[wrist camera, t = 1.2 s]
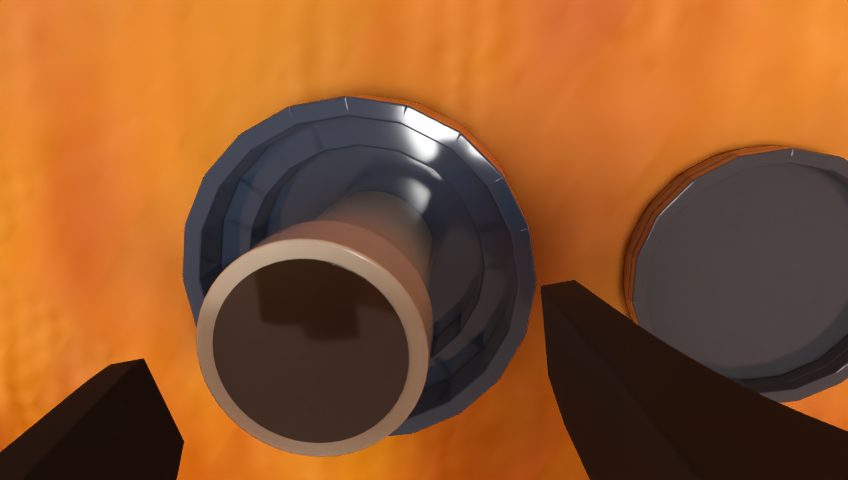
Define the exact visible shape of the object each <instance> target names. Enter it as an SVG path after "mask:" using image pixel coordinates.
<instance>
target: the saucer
mask: <svg viewBox="0 0 848 480" xmlns="http://www.w3.org/2000/svg"><path fill="white" fill-rule="evenodd" d="M624 293H625V299H626V304H627V307H628V310H629V313H630V317H631V319H632V321H633V322H634V323H636V324H637V325H639V326H640V327H642V328H643V329H645V330H646V331H648V332H650V333H651V334H653V335H654V336H656V337H657V338H659V339H660V340H662V341H664V342H665V343H667V344H668V345H670V346H672V347H673V348H675V349H677V350H678V351H680V352H682V353H683V354H685V355H687V356H689V357H690V358H692V359H694V360H696V361H697V362H699V363H701V364H703V365H704V366H706V367H708V368H709V369H711V370H713V371H715V372H717V373H719V374H721V375H723V376H724V377H726V378H728V379H730V380H732V381H734V382H736V383H738V384H740V385H742V386H744V387H747V388H749V389H751V390H753V391H755V392H757V393H759V394H761V395H763V396H765V397H767V398H769V399H771V400H773V401H776V402H778V403H782V402H791V401H798V400H801V399H804V398H806V397H808V396H811V395H813V394H816V393H818V392H820V391H823V390H825V389H828V388H830V387H832V386H835V385H837V384H840V383H842V381H845V380H846V379H847V378H848V161H847V160H846V159H844V158H841V157H839V156H834V155H829V154H823V153H818V152H812V151H807V150H802V149H796V148H791V147H785V146H780V145H778V146H776V145H774V146H760V147H749V148H743V149H739V150H734V151H729V152H726V153H723V154H721V155H718V156H715V157H712V158H710V159H708V160H706V161H704V162H702V163H699V164H697V165H695V166H694V167H692V168H691V169H689V170H688V171H686V172H684V173H683V174H681V175H680V176H679V177H677V178H676V179H675V180H674V181H672V182H671V183H670V184H669V185H668V186H666V187H665V188H664V189H663V191H662V192H661V193H660V194H659V195H658V196H657V197H656V198H655V199H654V200H653V201H652V203H651V204H650V205H649V207H648V208H647V209H646V211H645V212H644V214H643V215H642V217H641V219H640V221H639V222H638V224H637V226H636V228H635V230H634V233H633V235H632V238H631V240H630V243H629V246H628V250H627V254H626V258H625V265H624Z"/></svg>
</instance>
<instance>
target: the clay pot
mask: <svg viewBox="0 0 848 480" xmlns="http://www.w3.org/2000/svg"><path fill="white" fill-rule="evenodd" d="M434 258H435V250H434V242H433V238H432V235H431V232H430V229H429V227H428V225H427V224H426V222H425V220H424V219H423V217H422V216H421V215H420V214H419V213H418V211H417V210H416V209H415V208H414V207H412V206H411V205H410V204H409V203H407V202H406V201H404V200H402V199H401V198H399V197H396V196H394V195H391V194H388V193H385V192H379V191H360V192H356V193H352V194H349V195H346V196H344V197H342V198H340V199H338V200H337V201H335V202H334V203H333V204H331V205H330V206H329V207H328V208H326V209H325V210H324V211H323V212H321V213H320V214H319V215H318V216H316V217H315V218H314V219H313V220H312V221H310V222H304V223H299V224H295V225H292V226H289V227H286V228H284V229H281V230H279V231H277V232H275V233H273V234H272V235H270V236H268V237H267V238H265V239H264V240H262V241H261V242H260V243H258V244H257V245H256V246H254V247H253V248H251V249H250V250H249V251H247V252H246V253H244V254H243V255H242V256H240V257H239V258H238V259H236V260H235V261H233V262H232V263H231V264H230V265H229V266H228V267H227V268H226V269H225V270H224V271H223V272H222V273H221V274H220V275H219V276H218V277H217V279H216V280H215V281H214V283H213V284H212V285H211V287H210V289H209V291H208V293H207V295H206V297H205V299H204V301H203V304H202V307H201V310H200V314H199V318H198V323H197V335H196V344H197V355H198V360H199V364H200V368H201V371H202V374H203V377H204V380H205V382H206V384H207V386H208V388H209V390H210V392H211V394H212V396H213V397H214V399H215V400H216V402H217V403H218V405H219V406H220V407H221V408H222V410H223V411H224V412H225V413H226V414H227V415H228V417H229V418H231V419H232V420H233V421H234V422H235V423H236V424H237V425H238V426H239V427H240V428H242V429H243V430H244V431H246V432H247V433H248V434H250V435H251V436H253V437H255V438H256V439H258V440H260V441H262V442H263V443H265V444H268V445H270V446H272V447H275V448H277V449H280V450H283V451H286V452H289V453H294V454H299V455H304V456H316V457H327V456H338V455H344V454H350V453H353V452H356V451H360V450H363V449H365V448H367V447H369V446H372V445H374V444H376V443H377V442H379V441H381V440H382V439H384V438H386V437H387V436H388V435H390V434H391V433H392V432H393V431H395V430H396V429H397V428H398V427H399V426H400V425H401V424H402V423H403V422H404V421H405V420H406V419H407V417H408V416H409V415H410V413H411V412H412V410H413V409H414V407H415V406H416V404H417V402H418V400H419V398H420V396H421V394H422V391H423V388H424V385H425V382H426V377H427V371H428V365H429V359H430V352H431V346H432V340H433V326H434V321H433V312H432V306H431V302H430V298H429V295H428V289H429V284H430V279H431V275H432V270H433V265H434Z"/></svg>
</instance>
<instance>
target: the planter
mask: <svg viewBox="0 0 848 480" xmlns="http://www.w3.org/2000/svg"><path fill="white" fill-rule="evenodd" d="M360 191H379V192H385V193H388V194H391V195H394V196H396V197H399V198H401V199H402V200H404V201H406V202H407V203H409V204H410V205H411V206H412V207H414V208H415V209H416V210H417V211H418V213H419V214H420V215H421V216H422V217H423V219H424V220H425V222H426V224H427V225H428V227H429V229H430V232H431V235H432V238H433V242H434V250H435V258H434V265H433V270H432V275H431V279H430V284H429V289H428V295H429V298H430V302H431V306H432V312H433V321H434V326H433V340H432V346H431V352H430V359H429V365H428V371H427V377H426V382H425V385H424V388H423V391H422V394H421V396H420V398H419V400H418V402H417V404H416V406H415V407H414V409H413V410H412V412H411V413H410V415H409V416H408V417H407V419H406V420H405V421H404V422H403V423H402V424H401V425H400V426H399V427H398V428H397V429H396V430H395V431H393V432H392V433H391V434H390V435H388V436H394V435H404V434H412V433H415V432H418V431H420V430H422V429H425V428H427V427H429V426H432V425H434V424H436V423H439V422H441V421H444V420H446V419H448V418H451V417H453V416H455V415H458V414H459V413H461V412H462V411H464V410H465V409H466V408H467V407H468V406H469V405H471V404H472V403H473V402H474V401H475V400H476V399H477V398H479V397H480V396H481V395H482V394H483V393H484V392H486V391H487V390H488V389H489V388H490V387H491V386H493V385H494V384H495V383H496V382H497V381H498V379H500V378H501V376H502V374H503V373H504V371H505V369H506V368H507V366H508V364H509V363H510V361H511V359H512V357H513V356H514V354H515V352H516V351H517V349H518V347H519V346H520V344H521V342H522V341H523V339H524V337H525V334H526V332H527V327H528V323H529V318H530V313H531V308H532V303H533V298H534V293H535V289H536V273H535V265H534V258H533V250H532V243H531V235H530V228H529V225H528V223H527V220H526V218H525V216H524V213H523V211H522V209H521V206H520V204H519V202H518V200H517V198H516V196H515V194H514V192H513V190H512V188H511V186H510V184H509V182H508V180H507V178H506V176H505V174H504V172H503V170H502V168H501V166H500V164H499V163H498V161H497V160H496V159H495V158H494V157H493V156H492V155H491V154H490V153H489V152H488V151H487V150H486V149H485V148H484V147H483V146H482V145H481V144H480V143H479V142H478V141H477V140H476V139H475V138H474V137H473V136H472V135H471V134H470V133H469V132H468V131H467V130H466V129H465V127H462V125H460V124H458V123H456V122H454V121H452V120H450V119H448V118H446V117H445V116H443V115H441V114H439V113H437V112H435V111H433V110H431V109H429V108H427V107H425V106H423V105H421V104H419V103H415V102H410V101H404V100H397V99H390V98H384V97H377V96H371V95H360V96H343V97H337V98H332V99H326V100H320V101H315V102H309V103H304V104H298V105H293V106H290V107H287V108H285V109H283V110H281V111H280V112H278V113H276V114H274V115H273V116H271V117H269V118H267V119H266V120H264V121H262V122H260V123H258V124H257V125H255V126H253V127H251V128H250V129H248V130H246V131H244V132H243V133H241V134H240V135H239V136H238V137H237V138H236V139H235V140H234V141H233V143H232V144H231V145H230V146H229V147H228V148H227V150H226V151H225V152H224V153H223V154H222V155H221V157H220V158H219V159H218V160H217V161H216V162H215V163H214V165H213V166H212V167H211V168H210V169H209V170H208V172H207V173H206V174H205V176H204V177H203V180H202V182H201V185H200V187H199V190H198V193H197V195H196V198H195V200H194V203H193V205H192V208H191V211H190V213H189V216H188V218H187V221H186V223H185V225H186V226H185V233H184V258H183V281H184V285H185V289H186V292H187V296H188V299H189V303H190V306H191V310H192V314H193V317H194V321H195V324H196V327H197V323H198V318H199V314H200V310H201V307H202V304H203V301H204V299H205V297H206V295H207V293H208V291H209V289H210V287H211V285H212V284H213V283H214V281H215V280H216V279H217V277H218V276H219V275H220V274H221V273H222V272H223V271H224V270H225V269H226V268H227V267H228V266H229V265H230V264H231V263H232V262H233V261H235V260H236V259H238V258H239V257H240V256H242V255H243V254H244V253H246V252H247V251H249V250H250V249H251V248H253V247H254V246H256V245H257V244H258V243H260V242H261V241H262V240H264V239H265V238H267V237H268V236H270V235H272V234H273V233H275V232H277V231H279V230H281V229H284V228H286V227H289V226H292V225H295V224H299V223H304V222H310V221H312V220H313V219H314V218H315V217H316V216H318V215H319V214H320V213H321V212H323V211H324V210H325V209H326V208H328V207H329V206H330V205H331V204H333V203H334V202H335V201H337V200H338V199H340V198H342V197H344V196H346V195H349V194H352V193H356V192H360Z"/></svg>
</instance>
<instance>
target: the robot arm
mask: <svg viewBox="0 0 848 480" xmlns="http://www.w3.org/2000/svg"><path fill="white" fill-rule="evenodd" d="M541 297H542V308H543V320H544V331H545V342H546V354H547V365H548V376H549V379H550V382H551V385H552V388H553V391H554V394H555V397H556V401H557V404H558V407H559V410H560V413H561V415H562V418H563V421H564V424H565V427H566V429H567V431H568V433H569V435H570V438H571V440H572V442H573V444H574V446H575V448H576V450H577V453H578V455H579V457H580V459H581V461H582V463H583V466H584V468H585V470H586V472H587V474H588V476H589V478H590V480H848V431H845V430H843V429H840V428H838V427H835V426H833V425H830V424H828V423H825V422H823V421H820V420H818V419H815V418H813V417H810V416H808V415H805V414H803V413H801V412H798V411H796V410H794V409H791V408H789V407H787V406H785V405H782V404H780V403H778V402H776V401H773V400H771V399H769V398H767V397H765V396H763V395H761V394H759V393H757V392H755V391H753V390H751V389H749V388H747V387H744V386H742V385H740V384H738V383H736V382H734V381H732V380H730V379H728V378H726V377H724V376H723V375H721V374H719V373H717V372H715V371H713V370H711V369H709V368H708V367H706V366H704V365H703V364H701V363H699V362H697V361H696V360H694V359H692V358H690V357H689V356H687V355H685V354H683V353H682V352H680V351H678V350H677V349H675V348H673V347H672V346H670V345H668V344H667V343H665V342H664V341H662V340H660V339H659V338H657V337H656V336H654V335H653V334H651V333H650V332H648V331H646V330H645V329H643V328H642V327H640V326H639V325H637V324H636V323H634V322H633V321H631V320H630V319H629V318H627V317H626V316H624V315H623V314H621V313H620V312H619V311H617V310H616V309H614V308H613V307H612V306H610V305H609V304H607V303H606V302H605V301H603V300H602V299H600V298H599V297H598V296H596V295H595V294H594V293H592V292H591V291H589V290H588V289H587V288H585V287H584V286H582V285H581V284H580V283H578V282H577V281H575V280H571V281H566V282H560V283H555V284H549V285H544V286H541ZM183 444H184V441H183V439H182V436H181V434H180V432H179V430H178V428H177V426H176V424H175V422H174V420H173V418H172V416H171V414H170V412H169V410H168V408H167V406H166V403H165V401H164V399H163V397H162V395H161V393H160V391H159V389H158V387H157V385H156V383H155V381H154V379H153V377H152V375H151V372H150V370H149V368H148V366H147V364H146V362H145V360H144V359H138V360H133V361H127V362H122V363H116V364H111V365H109V366H108V367H106V368H105V369H103V370H102V371H100V372H99V373H97V374H96V375H95V376H93V377H92V378H91V379H90V380H88V381H87V382H86V383H84V384H83V385H82V386H81V387H79V388H78V389H77V390H76V391H74V392H73V393H72V394H71V395H69V396H68V397H67V398H66V399H64V400H63V401H62V402H61V403H60V404H58V405H57V406H56V407H55V408H54V409H52V410H51V411H50V412H49V413H48V414H46V415H45V416H44V417H43V418H41V419H40V420H39V421H38V422H37V423H35V424H34V425H33V426H32V427H31V428H29V429H28V430H27V431H26V432H24V433H23V434H22V435H21V436H20V437H18V438H17V439H16V440H15V441H14V442H12V443H11V444H10V445H9V446H7V447H6V448H5V449H4V450H3V451H1V452H0V480H176V479H177V475H178V470H179V465H180V460H181V454H182V449H183Z"/></svg>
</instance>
